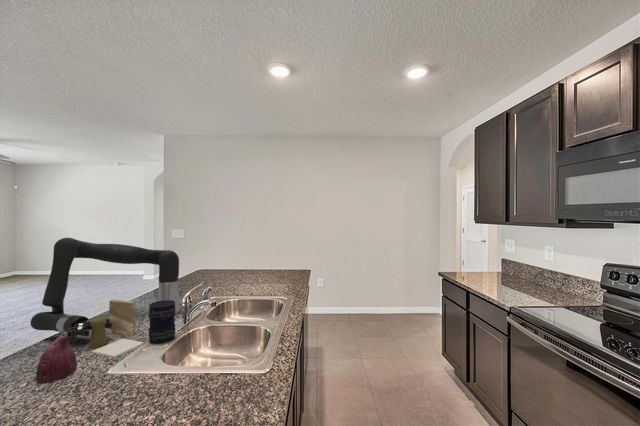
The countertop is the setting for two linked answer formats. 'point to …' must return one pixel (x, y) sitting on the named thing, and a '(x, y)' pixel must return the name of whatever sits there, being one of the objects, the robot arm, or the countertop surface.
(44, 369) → the vegetable
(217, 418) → the countertop surface
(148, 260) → the robot arm
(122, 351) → the coaster
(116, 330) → the maple board
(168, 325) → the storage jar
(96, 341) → the cork
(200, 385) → the countertop surface
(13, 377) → the countertop surface
